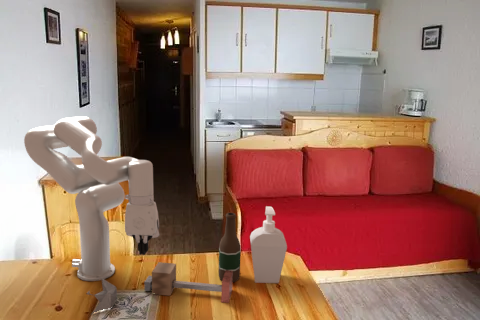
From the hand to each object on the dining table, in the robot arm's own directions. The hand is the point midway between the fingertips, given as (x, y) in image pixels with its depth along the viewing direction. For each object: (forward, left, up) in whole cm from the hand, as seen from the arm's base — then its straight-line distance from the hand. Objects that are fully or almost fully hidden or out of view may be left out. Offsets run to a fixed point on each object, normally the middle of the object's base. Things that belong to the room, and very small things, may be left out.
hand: (143, 252), depth 130 cm
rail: (+15, 0, -13) cm, 20 cm away
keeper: (+7, 0, -13) cm, 14 cm away
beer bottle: (+27, +12, -13) cm, 32 cm away
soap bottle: (+40, +15, -13) cm, 45 cm away
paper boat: (-9, -11, -13) cm, 19 cm away
